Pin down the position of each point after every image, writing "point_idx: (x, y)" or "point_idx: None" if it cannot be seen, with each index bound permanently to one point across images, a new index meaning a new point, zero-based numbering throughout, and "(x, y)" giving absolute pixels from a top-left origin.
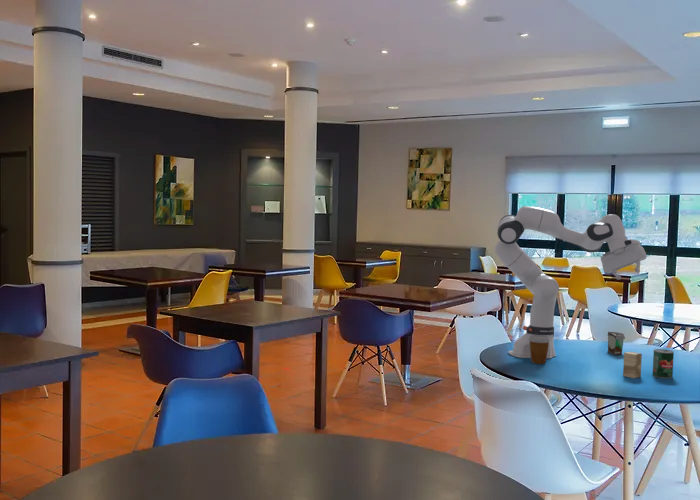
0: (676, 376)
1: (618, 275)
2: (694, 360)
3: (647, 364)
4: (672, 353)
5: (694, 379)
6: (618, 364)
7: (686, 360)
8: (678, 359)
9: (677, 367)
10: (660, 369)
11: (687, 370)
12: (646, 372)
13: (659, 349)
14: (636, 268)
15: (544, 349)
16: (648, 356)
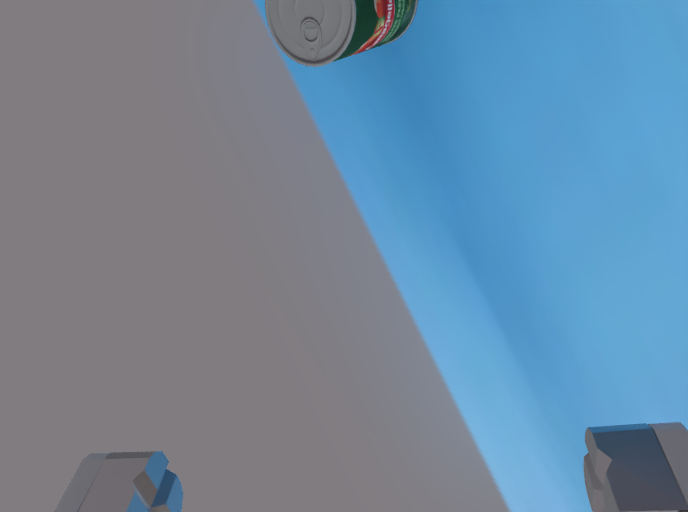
0: (349, 61)
1: (616, 488)
2: (476, 443)
3: (562, 219)
4: (269, 11)
5: (290, 72)
6: (684, 77)
7: (494, 426)
8: (525, 428)
9: (443, 257)
10: None
11: (391, 227)
12: (465, 11)
13: (346, 41)
14: (79, 508)
15: None
16: (657, 421)
